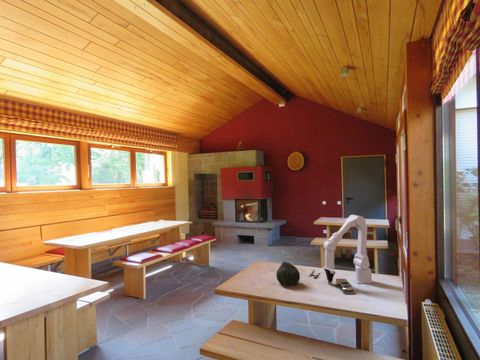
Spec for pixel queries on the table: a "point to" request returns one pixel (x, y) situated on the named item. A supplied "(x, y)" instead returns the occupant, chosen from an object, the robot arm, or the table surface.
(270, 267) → the table surface
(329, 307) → the table surface
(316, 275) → the hacksaw
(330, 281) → the robot arm
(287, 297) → the table surface
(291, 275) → the squash
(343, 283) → the chain ends
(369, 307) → the table surface
